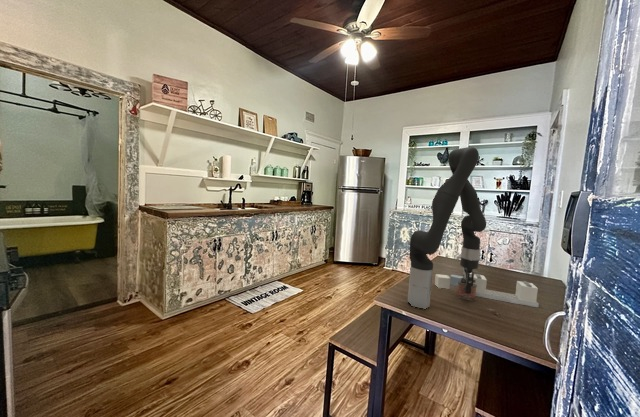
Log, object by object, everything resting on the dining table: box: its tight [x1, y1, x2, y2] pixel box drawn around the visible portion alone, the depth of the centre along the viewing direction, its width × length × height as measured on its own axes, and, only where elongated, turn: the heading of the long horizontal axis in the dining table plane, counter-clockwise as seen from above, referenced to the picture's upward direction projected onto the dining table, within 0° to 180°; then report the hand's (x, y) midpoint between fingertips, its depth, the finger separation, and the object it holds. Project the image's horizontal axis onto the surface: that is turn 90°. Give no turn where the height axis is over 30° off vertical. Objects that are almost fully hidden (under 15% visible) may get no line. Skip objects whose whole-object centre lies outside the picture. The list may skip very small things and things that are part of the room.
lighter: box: [456, 278, 477, 302], centre depth 122 cm, size 8×3×10 cm, turn 62°
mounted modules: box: [473, 273, 539, 303], centre depth 124 cm, size 7×26×8 cm, turn 67°
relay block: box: [434, 273, 451, 290], centre depth 136 cm, size 5×6×6 cm
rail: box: [475, 288, 540, 308], centre depth 125 cm, size 7×28×2 cm, turn 67°
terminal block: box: [450, 274, 463, 287], centre depth 139 cm, size 4×7×5 cm, turn 57°
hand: (466, 289), depth 122 cm, fingers open, 8 cm apart
